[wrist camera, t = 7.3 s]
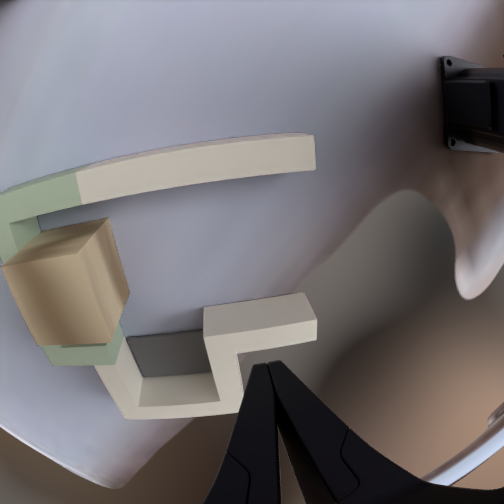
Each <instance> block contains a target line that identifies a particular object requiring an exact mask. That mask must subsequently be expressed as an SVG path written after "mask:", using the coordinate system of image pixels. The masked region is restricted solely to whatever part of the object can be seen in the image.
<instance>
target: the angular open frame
mask: <svg viewBox="0 0 504 504" xmlns="http://www.w3.org/2000/svg"><path fill="white" fill-rule="evenodd" d="M312 170H316V162H315V144H314V136H312V135H308V134H303V133H298V132H293V133H279V134H267V135H256V136H246V137H237V138H228V139H220V140H213V141H205V142H198V143H192V144H185V145H179V146H173V147H168V148H162V149H156V150H151V151H146V152H141V153H136V154H131V155H126V156H122V157H117V158H113V159H109V160H104V161H100V162H96V163H92V164H88V165H84V166H80V167H77V168H73V169H69V170H66V171H62V172H58V173H55V174H52V175H48V176H45V177H42V178H38V179H35V180H32V181H29V182H26V183H23V184H20V185H17V186H14V187H11V188H9V189H7V190H5V191H3V192H1V193H0V258H1V260H2V263H3V265H4V264H5V263H6V262H7V261H8V260H9V259H10V258H12V257H13V256H14V255H15V254H16V253H17V252H18V251H19V250H20V249H22V248H23V247H24V246H25V245H26V244H27V243H28V242H30V241H31V240H32V239H33V238H34V237H35V236H37V235H38V234H39V233H40V232H41V230H40V227H39V223H38V220H37V216H38V215H42V214H46V213H50V212H54V211H58V210H62V209H66V208H71V207H75V206H79V205H84V204H88V203H93V202H98V201H103V200H107V199H112V198H117V197H122V196H128V195H133V194H138V193H144V192H149V191H155V190H161V189H167V188H173V187H179V186H185V185H192V184H199V183H205V182H212V181H220V180H227V179H235V178H243V177H251V176H260V175H269V174H279V173H289V172H300V171H312ZM316 338H317V318H316V316H315V314H314V312H313V310H312V308H311V306H310V304H309V302H308V300H307V298H306V296H305V294H304V292H301V293H295V294H289V295H283V296H277V297H270V298H264V299H257V300H250V301H243V302H236V303H229V304H222V305H215V306H207V307H204V311H203V329H202V330H194V331H185V332H176V333H167V334H157V335H146V336H135V337H128V338H127V340H128V342H129V344H130V347H131V349H132V352H133V354H134V356H135V358H136V361H137V363H138V365H139V367H140V370H141V372H142V374H143V376H144V378H143V377H142V374H141V372H140V370H139V368H138V366H137V364H136V361H135V359H134V357H133V355H132V352H131V350H130V348H129V345H128V343H127V341H126V338H125V336H124V333H123V331H122V328H121V326H120V323H118V325H117V328H116V331H115V334H114V337H113V339H112V342H111V343H96V344H76V345H42V346H41V347H42V349H43V351H44V353H45V354H46V356H47V358H48V360H49V361H50V363H51V365H52V366H93V365H94V367H95V369H96V371H97V372H98V374H99V376H100V378H101V380H102V381H103V383H104V385H105V386H106V388H107V390H108V392H109V393H110V395H111V397H112V398H113V400H114V401H115V403H116V405H117V406H118V408H119V409H120V411H121V413H122V414H123V416H124V417H125V419H169V418H186V417H199V416H209V415H220V414H229V413H237V412H239V408H240V405H241V402H242V399H243V396H244V393H243V385H242V379H241V373H240V368H239V362H238V357H237V353H244V352H251V351H257V350H264V349H270V348H276V347H282V346H287V345H293V344H298V343H304V342H309V341H314V340H316Z"/></svg>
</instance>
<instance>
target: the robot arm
mask: <svg viewBox="0 0 504 504" xmlns="http://www.w3.org/2000/svg"><path fill="white" fill-rule="evenodd" d="M503 56H504V55H503ZM447 62H448V65H447ZM440 64H441V74H442V86H443V103H444V144H445V146H446V148H448V149H451V150H462V151H478V152H491V153H500V152H501V153H504V68H486V67H483V66H480V65H477V64H474V63H471V62H468V61H465V60H461V59H458V58H455V57H451V56H442V57H441V59H440ZM451 140H452V144H451V143H450V142H451ZM277 425H278V429H279V432H280V435H281V438H282V440H283V443H284V446H285V449H286V451H287V454H288V457H289V460H290V462H291V465H292V467H293V470H294V473H295V476H296V479H297V481H298V484H299V487H300V489H301V492H302V494H303V497H304V500H305V502H306V504H504V487H502V488H499V489H493V490H481V489H471V488H460V487H453V486H445V485H439V484H433V483H430V482H427V481H424V480H422V479H420V478H418V477H416V476H414V475H413V474H411V473H409V472H408V471H406V470H405V469H403V468H402V467H400V466H399V465H397V464H395V463H394V462H392V461H391V460H389V459H388V458H386V457H385V456H383V455H382V454H381V453H379V452H378V451H376V450H375V449H374V448H372V447H371V446H369V444H367V443H366V442H365V441H364V440H363V439H362V438H360V437H359V436H358V435H357V434H356V433H355V432H354V431H353V430H352V429H349V427H348V426H347V425H346V424H345V423H344V422H343V421H342V420H341V419H340V418H339V417H338V416H337V415H336V414H335V413H333V412H332V411H331V410H330V409H329V408H328V407H327V406H326V405H325V404H324V403H323V402H322V401H321V400H320V399H319V398H318V397H317V396H316V395H315V394H314V393H313V392H312V391H311V390H310V389H309V388H307V386H306V385H305V384H304V383H303V382H302V381H301V380H300V379H299V378H298V377H297V376H296V375H295V374H294V373H293V372H292V371H291V370H290V369H289V368H288V367H287V366H286V365H285V364H284V363H283V362H282V361H280V360H277V361H271V362H268V363H267V364H266V363H260V364H254V365H253V367H252V370H251V373H250V376H249V379H248V383H247V386H246V389H245V392H244V396H243V399H242V402H241V405H240V408H239V412H238V415H237V418H236V421H235V424H234V427H233V430H232V434H231V437H230V440H229V443H228V446H227V449H226V453H225V454H224V457H223V461H222V463H221V466H220V469H219V472H218V474H217V476H216V479H215V481H214V483H213V485H212V487H211V489H210V491H209V493H208V495H207V497H206V499H205V501H204V502H203V504H282V502H281V501H282V500H281V480H280V461H279V443H278V429H277Z"/></svg>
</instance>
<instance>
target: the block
mask: <svg viewBox="0 0 504 504" xmlns="http://www.w3.org/2000/svg"><path fill="white" fill-rule="evenodd" d="M1 268H2V271H3V273H4V276H5V278H6V281H7V283H8V285H9V288H10V290H11V292H12V295H13V297H14V299H15V301H16V304H17V306H18V308H19V310H20V312H21V314H22V316H23V318H24V320H25V322H26V324H27V326H28V328H29V330H30V332H31V334H32V336H33V338H34V339H35V341H36V343H37V345H38V346H42V345H76V344H96V343H111V342H112V339H113V337H114V334H115V331H116V328H117V325H118V323H119V320H120V317H121V315H122V312H123V309H124V307H125V304H126V301H127V299H128V296H129V294H130V290H129V287H128V284H127V281H126V278H125V274H124V271H123V268H122V264H121V261H120V257H119V254H118V250H117V247H116V243H115V239H114V235H113V232H112V228H111V224H110V220H109V217H108V218H103V219H98V220H93V221H88V222H83V223H78V224H73V225H68V226H64V227H59V228H54V229H50V230H45V231H41V232H40V233H39V234H38V235H37V236H35V237H34V238H33V239H32V240H31V241H30V242H28V243H27V244H26V245H25V246H24V247H23V248H22V249H20V250H19V251H18V252H17V253H16V254H15V255H14V256H13V257H12V258H10V259H9V260H8V261H7V262H6V263H5V264H4V265H3V266H2V267H1Z"/></svg>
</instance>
